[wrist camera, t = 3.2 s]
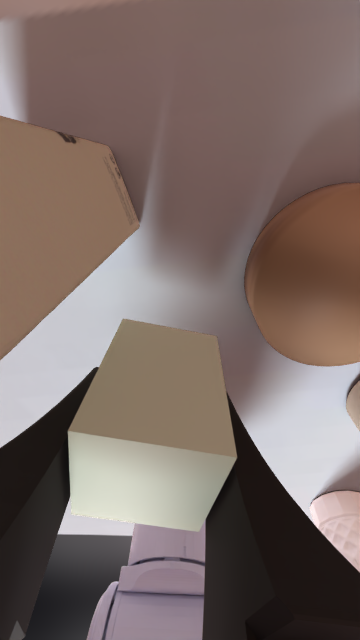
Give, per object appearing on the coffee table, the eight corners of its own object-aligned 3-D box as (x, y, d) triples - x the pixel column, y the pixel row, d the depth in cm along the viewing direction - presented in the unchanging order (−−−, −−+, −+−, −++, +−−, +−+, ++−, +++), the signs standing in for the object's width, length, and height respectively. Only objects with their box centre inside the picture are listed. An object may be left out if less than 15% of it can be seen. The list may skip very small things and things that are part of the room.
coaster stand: (356, 350, 18) (383, 378, 16) (225, 325, 18) (231, 350, 15) (456, 204, 14) (519, 211, 11) (280, 163, 13) (302, 159, 10)
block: (195, 401, 14) (198, 531, 9) (116, 388, 14) (71, 514, 9) (216, 336, 12) (237, 457, 7) (123, 318, 12) (67, 430, 6)
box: (110, 142, 13) (-438, -83, 2) (142, 228, 15) (-6, 388, 4) (24, 178, 14) (-691, 189, 3) (65, 254, 16) (-237, 442, 5)
